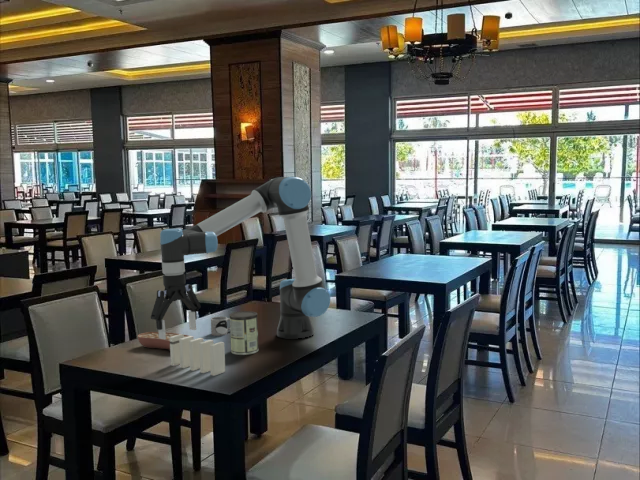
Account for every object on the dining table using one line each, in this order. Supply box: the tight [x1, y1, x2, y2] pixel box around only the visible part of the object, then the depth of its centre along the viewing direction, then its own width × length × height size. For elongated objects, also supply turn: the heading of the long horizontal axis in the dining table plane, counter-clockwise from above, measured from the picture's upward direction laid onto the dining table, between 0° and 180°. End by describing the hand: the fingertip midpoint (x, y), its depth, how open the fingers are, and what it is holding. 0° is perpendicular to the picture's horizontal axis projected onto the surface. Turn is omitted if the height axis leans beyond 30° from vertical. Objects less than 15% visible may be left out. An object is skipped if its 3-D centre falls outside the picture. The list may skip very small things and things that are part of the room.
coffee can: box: [229, 310, 259, 356], centre depth 234 cm, size 10×10×14 cm
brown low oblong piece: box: [137, 331, 190, 351], centre depth 241 cm, size 23×10×5 cm, turn 64°
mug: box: [210, 316, 230, 337], centre depth 263 cm, size 10×7×7 cm, turn 131°
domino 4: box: [199, 339, 215, 374], centre depth 211 cm, size 2×5×10 cm, turn 143°
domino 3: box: [189, 337, 204, 372], centre depth 214 cm, size 2×5×10 cm, turn 143°
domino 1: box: [169, 333, 185, 367], centre depth 220 cm, size 2×5×10 cm, turn 143°
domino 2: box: [179, 335, 195, 369], centre depth 217 cm, size 2×5×10 cm, turn 143°
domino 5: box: [210, 341, 226, 377], centre depth 208 cm, size 2×5×10 cm, turn 143°
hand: (178, 334), depth 219 cm, fingers open, 13 cm apart
